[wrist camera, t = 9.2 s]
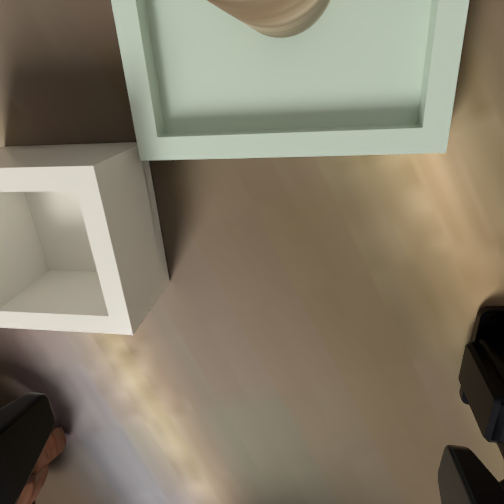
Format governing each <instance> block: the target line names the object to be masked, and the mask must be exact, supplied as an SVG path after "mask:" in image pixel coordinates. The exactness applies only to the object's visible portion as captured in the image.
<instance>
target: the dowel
mask: <svg viewBox="0 0 504 504" xmlns="http://www.w3.org/2000/svg"><path fill="white" fill-rule="evenodd" d="M207 1H209V2H210V3H212V4H213V5H215V6H217V7H218V8H220V9H222V10H223V11H225V12H226V13H228V14H230V15H231V16H233V17H235V18H236V19H238V20H239V21H241V22H243V23H244V24H246V25H248V26H249V27H251V28H253V29H254V30H256V31H257V32H259V33H261V34H263V35H266V36H269V37H275V38H285V37H291V36H294V35H297V34H299V33H302V32H303V31H305V30H307V29H308V28H310V27H311V26H312V25H313V24H314V23H315V22H316V21H317V20H318V19H319V18H320V17H321V15H322V14H323V13H324V11H325V10H326V8H327V6H328V4H329V2H330V0H207Z"/></svg>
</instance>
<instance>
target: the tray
mask: <svg viewBox="0 0 504 504" xmlns="http://www.w3.org/2000/svg"><path fill="white" fill-rule="evenodd" d="M111 3H112V8H113V14H114V19H115V25H116V30H117V36H118V41H119V47H120V52H121V58H122V63H123V69H124V74H125V80H126V85H127V91H128V96H129V102H130V107H131V113H132V118H133V124H134V129H135V135H136V140H137V146H138V151H139V157H140V161H149V160H189V159H228V158H267V157H306V156H345V155H384V154H423V153H446V150H447V144H448V137H449V130H450V124H451V117H452V111H453V104H454V98H455V91H456V84H457V78H458V71H459V65H460V58H461V52H462V45H463V39H464V32H465V25H466V19H467V12H468V6H469V0H330V2H329V4H328V6H327V8H326V10H325V11H324V13H323V14H322V15H321V17H320V18H319V19H318V20H317V21H316V22H315V23H314V24H313V25H312V26H311V27H310V28H308V29H307V30H305V31H303V32H302V33H299V34H297V35H294V36H291V37H285V38H275V37H269V36H266V35H263V34H261V33H259V32H257V31H256V30H254V29H253V28H251V27H249V26H248V25H246V24H244V23H243V22H241V21H239V20H238V19H236V18H235V17H233V16H231V15H230V14H228V13H226V12H225V11H223V10H222V9H220V8H218V7H217V6H215V5H213V4H212V3H210V2H209V1H207V0H111Z"/></svg>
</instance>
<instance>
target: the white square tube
mask: <svg viewBox="0 0 504 504" xmlns="http://www.w3.org/2000/svg"><path fill="white" fill-rule="evenodd" d="M169 282H170V280H169V274H168V269H167V263H166V257H165V251H164V245H163V240H162V234H161V228H160V222H159V217H158V211H157V205H156V199H155V193H154V188H153V182H152V176H151V170H150V164H149V161H140V157H139V151H138V146H137V142H125V143H95V144H66V145H37V146H8V147H1V148H0V328H19V329H37V330H55V331H73V332H91V333H109V334H127V335H133V334H134V333H135V331H136V330H137V328H138V327H139V325H140V324H141V323H142V321H143V320H144V318H145V317H146V315H147V314H148V312H149V311H150V310H151V308H152V307H153V305H154V304H155V302H156V301H157V299H158V298H159V296H160V295H161V294H162V292H163V291H164V289H165V288H166V286H167V285H168V283H169Z"/></svg>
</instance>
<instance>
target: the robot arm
mask: <svg viewBox="0 0 504 504" xmlns="http://www.w3.org/2000/svg"><path fill="white" fill-rule="evenodd" d="M490 314H493V315H492V316H491V317H490V318H485V317H486V316H487V315H490ZM459 382H460V384H461V388H460V392H459V393H460V397H461V399H462V401H463V402H464V403H465V404H469V405H470V407H471V410H472V412H473V414H474V417H475V419H476V421H477V424H478V426H479V428H480V431H481V433H482V435H483V437H484V438H485V439H486V440H487V441H488V442H495V443H497V445H498V448H499V450H500V452H501V454H502V456H503V459H504V306H485V307H483V308H481V309H480V310H479V311H478V313H477V317H476V321H475V326H474V330H473V334H472V339H471V341H470V342H468V344H467V345H466V346H465V351H464V356H463V360H462V365H461V369H460V374H459ZM54 425H55V416H54V413H53V410H52V407H51V404H50V401H49V398H48V396H47V395H46V394H43V393H35V392H30V393H27V394H25V395H23V396H21V397H20V398H18V399H16V400H14V401H13V402H11V403H9V404H8V405H6V406H4V407H2V408H1V409H0V504H15V503H16V501H17V500H18V498H19V496H20V494H21V493H22V491H23V489H24V487H25V485H26V483H27V481H28V479H29V477H30V475H31V473H32V471H33V469H34V467H35V465H36V463H37V461H38V459H39V457H40V455H41V453H42V451H43V449H44V447H45V445H46V442H47V440H48V438H49V436H50V434H51V432H52V430H53V428H54ZM438 484H439V490H440V497H441V503H442V504H504V479H503V480H502V481H500V482H498V481H497V480H496V478H495V477H494V476H493V475H492V474H491V473H490V471H489V470H488V469H487V468H486V467H485V466H484V465H483V463H482V462H481V461H480V460H479V459H478V458H477V456H476V455H475V454H474V453H473V452H472V451H471V450H470V449H469V448H467V447H462V446H455V445H447V446H446V447H445V449H444V452H443V456H442V459H441V463H440V467H439V470H438Z"/></svg>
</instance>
